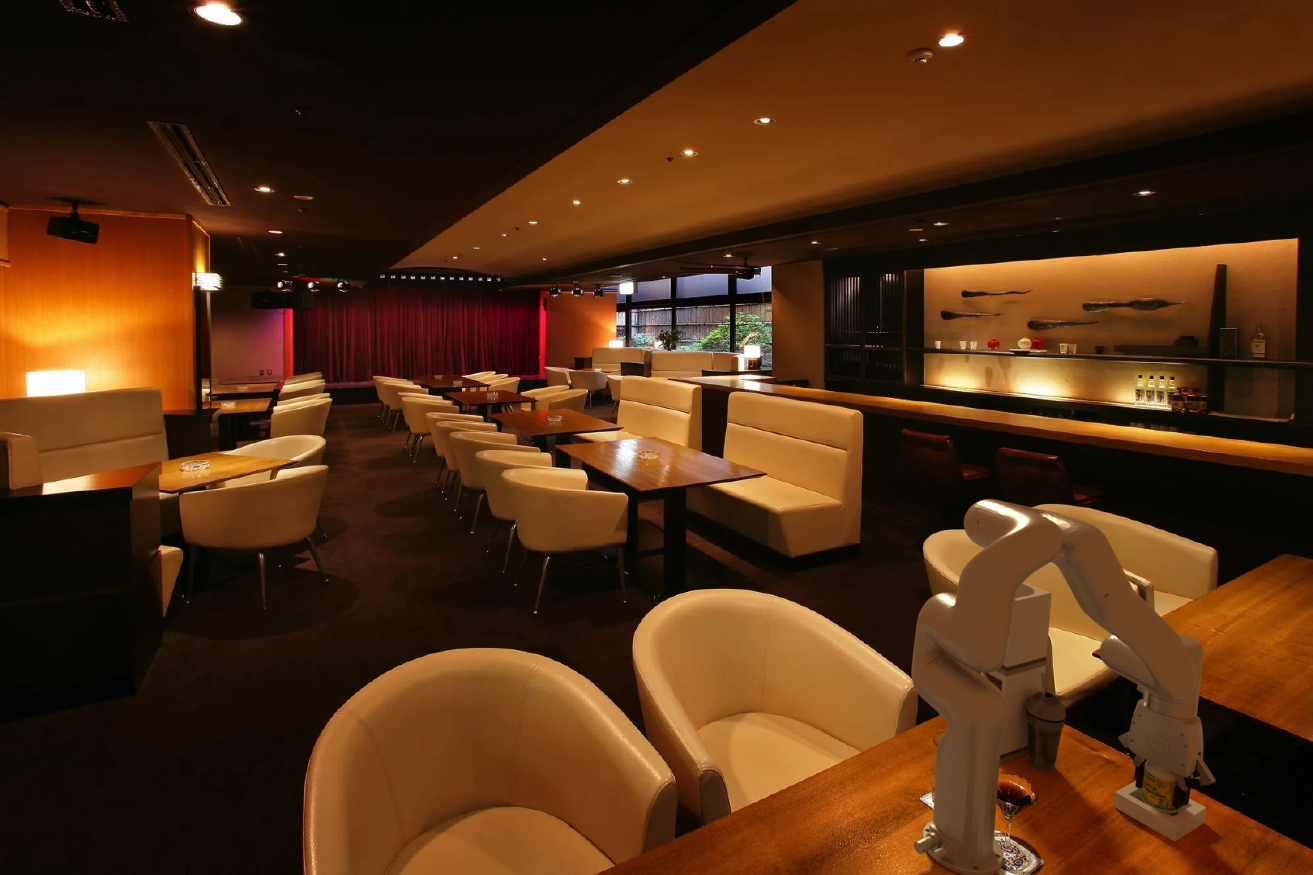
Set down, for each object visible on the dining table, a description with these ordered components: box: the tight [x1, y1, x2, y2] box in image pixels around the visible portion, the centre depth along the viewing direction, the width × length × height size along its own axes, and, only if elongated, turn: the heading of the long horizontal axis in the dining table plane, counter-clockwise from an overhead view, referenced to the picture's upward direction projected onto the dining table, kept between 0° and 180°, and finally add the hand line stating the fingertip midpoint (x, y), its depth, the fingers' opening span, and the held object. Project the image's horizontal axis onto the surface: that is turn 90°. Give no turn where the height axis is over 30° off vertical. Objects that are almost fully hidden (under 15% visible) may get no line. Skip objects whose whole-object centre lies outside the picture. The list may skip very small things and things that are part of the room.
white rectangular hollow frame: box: [1113, 780, 1207, 843], centre depth 122 cm, size 10×10×3 cm
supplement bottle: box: [1142, 761, 1178, 815], centre depth 121 cm, size 5×5×10 cm
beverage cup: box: [1025, 673, 1067, 773], centre depth 135 cm, size 7×7×20 cm
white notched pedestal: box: [980, 582, 1053, 765], centre depth 142 cm, size 11×11×35 cm
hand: (1160, 794), depth 122 cm, fingers closed on supplement bottle, 5 cm apart
